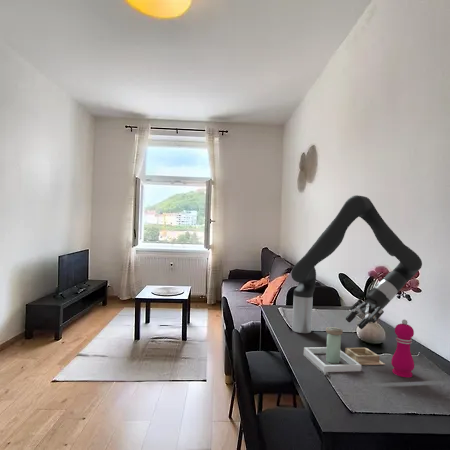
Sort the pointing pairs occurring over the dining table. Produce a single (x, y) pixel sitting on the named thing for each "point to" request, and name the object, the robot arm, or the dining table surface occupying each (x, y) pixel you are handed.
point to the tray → (330, 368)
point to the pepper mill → (403, 350)
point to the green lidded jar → (333, 344)
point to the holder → (363, 356)
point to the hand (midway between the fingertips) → (353, 324)
